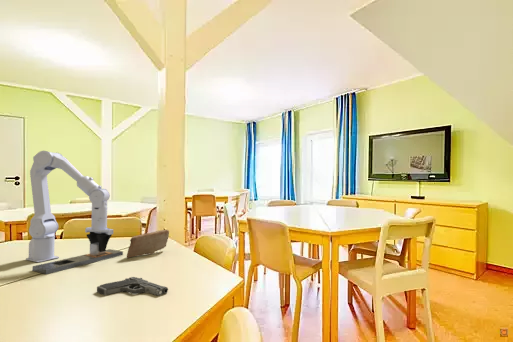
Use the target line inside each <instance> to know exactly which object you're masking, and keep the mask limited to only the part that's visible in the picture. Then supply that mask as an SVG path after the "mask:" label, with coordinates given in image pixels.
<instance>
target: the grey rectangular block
mask: <svg viewBox="0 0 513 342" xmlns="http://www.w3.org/2000/svg"><path fill="white" fill-rule="evenodd" d="M89 254H90V255H93V256H100V255H104V254H105V251H103V252H100V250H99V242H97V243H92V244H89Z"/></svg>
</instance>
